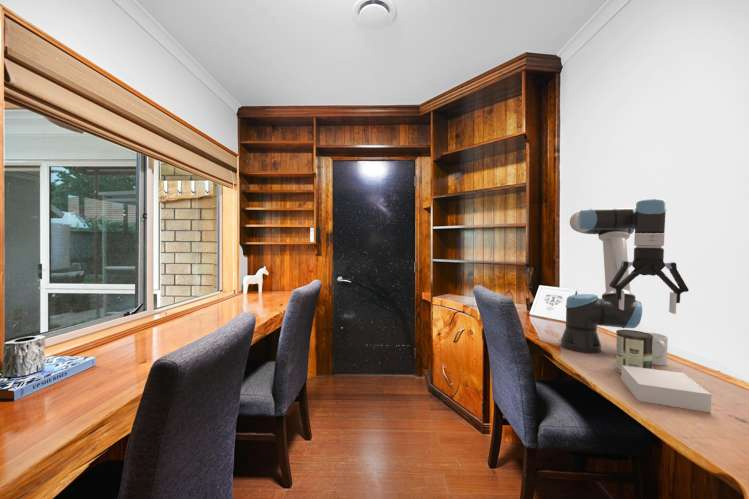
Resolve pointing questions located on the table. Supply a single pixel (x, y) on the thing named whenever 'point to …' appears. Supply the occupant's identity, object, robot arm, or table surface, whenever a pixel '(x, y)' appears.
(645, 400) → the base
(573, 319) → the robot arm
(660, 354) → the mug
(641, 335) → the coffee can
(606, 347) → the table surface
